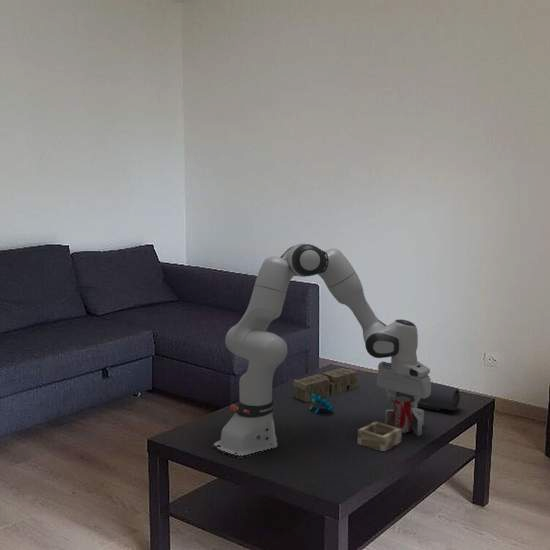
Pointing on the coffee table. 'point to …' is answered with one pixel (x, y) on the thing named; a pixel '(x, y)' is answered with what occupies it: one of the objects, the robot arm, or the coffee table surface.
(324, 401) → the blue toy figure
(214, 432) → the coffee table surface
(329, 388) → the block tower
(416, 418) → the v-block
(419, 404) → the bluetooth speaker
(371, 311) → the robot arm
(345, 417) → the coffee table surface
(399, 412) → the beverage can
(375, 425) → the bore block
